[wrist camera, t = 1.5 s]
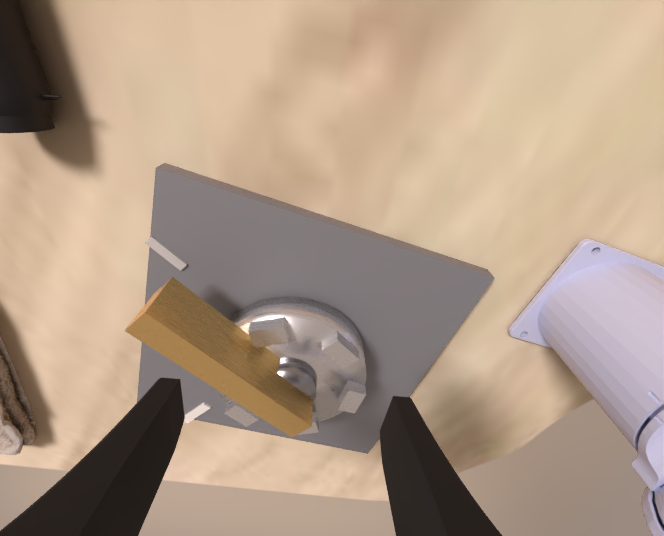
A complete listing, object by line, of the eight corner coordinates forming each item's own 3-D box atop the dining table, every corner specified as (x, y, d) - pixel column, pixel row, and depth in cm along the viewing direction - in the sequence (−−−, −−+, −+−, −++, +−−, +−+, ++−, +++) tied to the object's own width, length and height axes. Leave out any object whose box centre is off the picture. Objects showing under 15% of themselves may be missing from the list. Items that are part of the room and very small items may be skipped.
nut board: (487, 269, 21) (495, 279, 20) (364, 445, 31) (366, 458, 30) (160, 161, 17) (150, 167, 16) (140, 400, 27) (132, 413, 26)
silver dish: (391, 359, 23) (406, 425, 19) (290, 417, 26) (283, 484, 22) (235, 213, 17) (204, 258, 13) (130, 310, 21) (77, 372, 16)
